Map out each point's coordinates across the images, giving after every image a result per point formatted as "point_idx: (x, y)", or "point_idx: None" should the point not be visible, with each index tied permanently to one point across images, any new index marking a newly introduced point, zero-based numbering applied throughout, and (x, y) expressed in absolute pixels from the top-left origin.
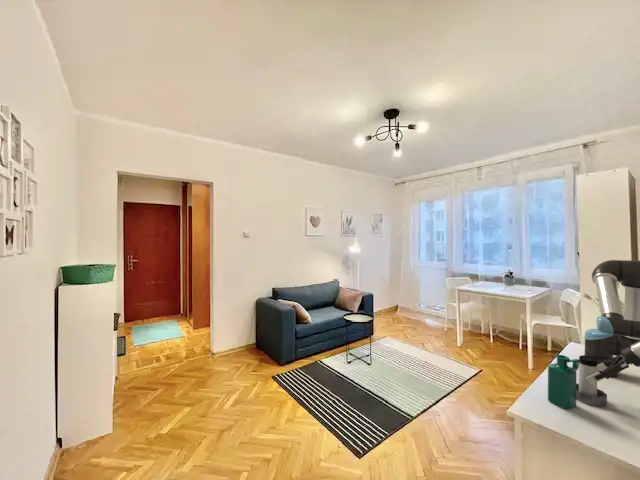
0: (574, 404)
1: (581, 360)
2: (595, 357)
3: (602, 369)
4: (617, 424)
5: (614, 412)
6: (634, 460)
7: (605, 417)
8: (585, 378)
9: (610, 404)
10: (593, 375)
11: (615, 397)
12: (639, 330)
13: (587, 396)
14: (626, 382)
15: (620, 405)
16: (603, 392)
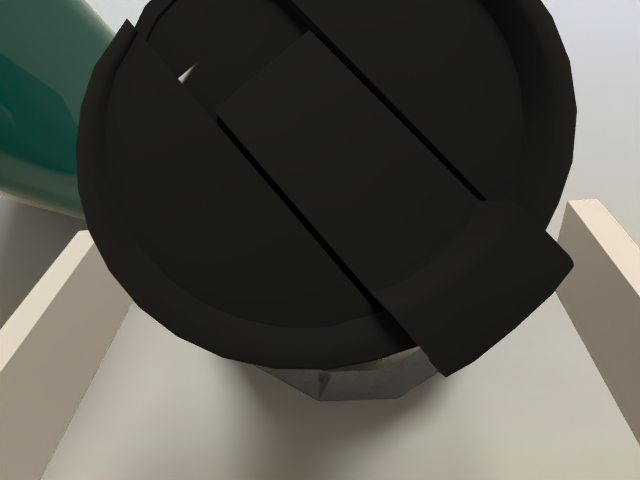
0: (80, 218)
1: (155, 29)
2: (473, 300)
3: (626, 392)
4: (63, 470)
5: (256, 441)
6: None
7: (112, 399)
8: (80, 231)
9: (394, 406)
10: (13, 326)
11: (602, 426)
12: None
13: None
14: None
15: (446, 469)
16: (428, 367)
